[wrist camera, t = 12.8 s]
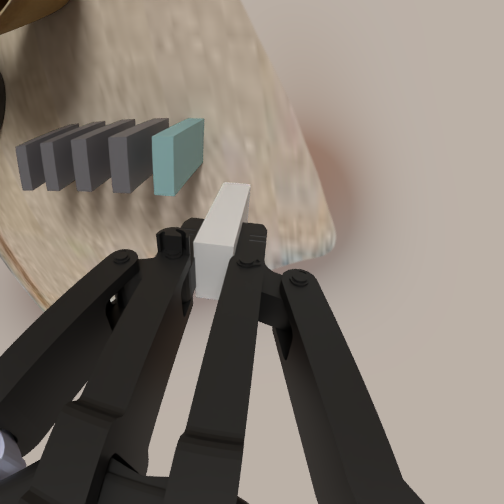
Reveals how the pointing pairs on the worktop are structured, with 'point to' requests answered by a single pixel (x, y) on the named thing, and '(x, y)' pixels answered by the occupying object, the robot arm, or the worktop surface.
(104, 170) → the domino
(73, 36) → the worktop surface
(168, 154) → the domino
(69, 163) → the domino
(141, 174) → the domino
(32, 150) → the domino
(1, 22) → the plant pot
